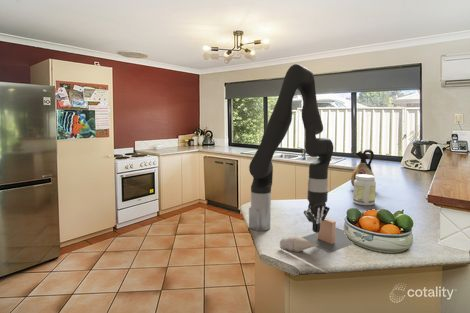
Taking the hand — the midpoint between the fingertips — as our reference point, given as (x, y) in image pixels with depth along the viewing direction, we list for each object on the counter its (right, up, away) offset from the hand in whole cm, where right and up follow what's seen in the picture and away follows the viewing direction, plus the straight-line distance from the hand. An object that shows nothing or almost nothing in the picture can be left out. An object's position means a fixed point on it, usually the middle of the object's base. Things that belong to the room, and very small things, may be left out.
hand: (316, 231), depth 116 cm
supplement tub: (+46, +1, +62) cm, 77 cm away
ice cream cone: (-8, -7, -5) cm, 11 cm away
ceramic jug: (+59, +5, +92) cm, 109 cm away
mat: (+9, -5, +7) cm, 12 cm away
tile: (+5, -5, +4) cm, 8 cm away
